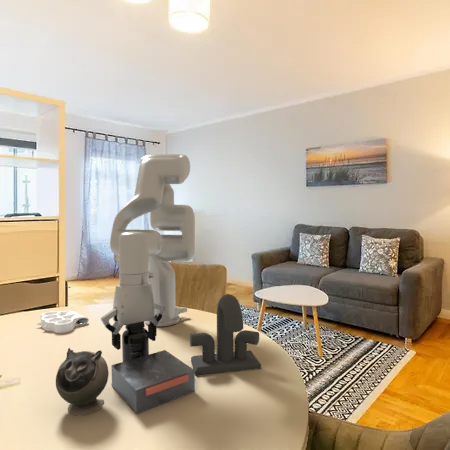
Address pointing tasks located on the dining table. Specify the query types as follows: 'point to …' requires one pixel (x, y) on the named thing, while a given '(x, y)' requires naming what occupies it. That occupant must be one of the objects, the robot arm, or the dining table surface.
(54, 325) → the white flat holed piece
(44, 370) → the dining table surface
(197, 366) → the faucet
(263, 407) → the dining table surface
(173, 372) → the stand
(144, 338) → the supplement bottle
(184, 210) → the robot arm
